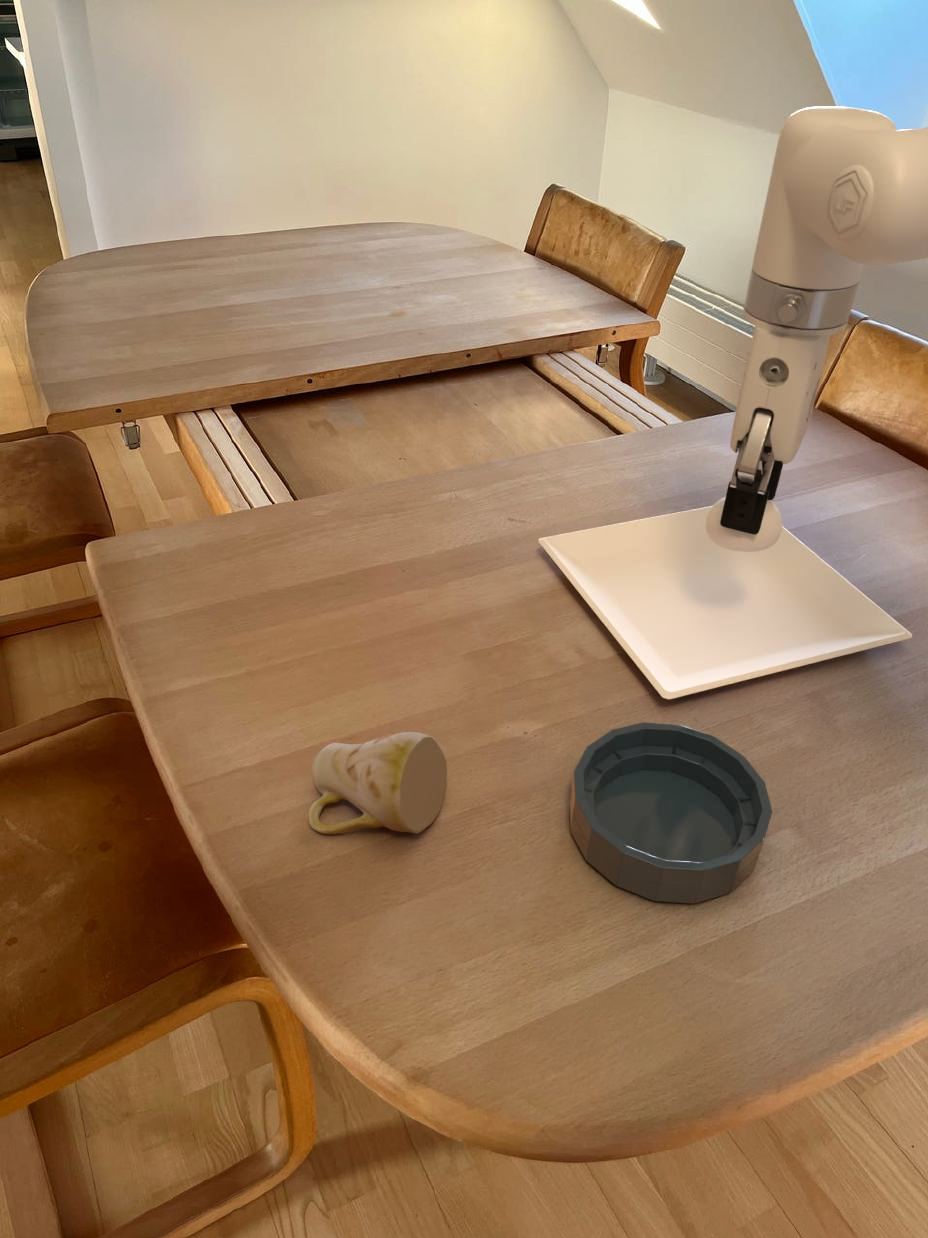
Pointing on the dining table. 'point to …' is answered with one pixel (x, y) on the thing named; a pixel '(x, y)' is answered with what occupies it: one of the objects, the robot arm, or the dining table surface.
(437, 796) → the mug
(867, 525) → the dining table surface
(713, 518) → the garlic bulb
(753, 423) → the robot arm
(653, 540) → the plate
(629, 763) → the bowl
